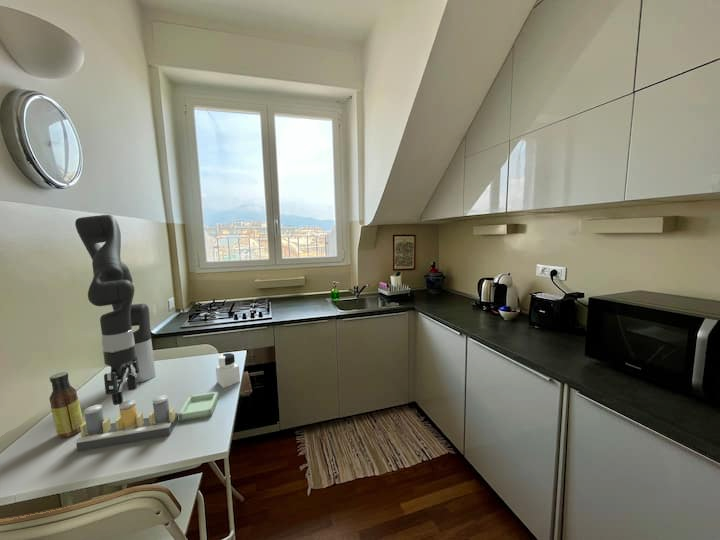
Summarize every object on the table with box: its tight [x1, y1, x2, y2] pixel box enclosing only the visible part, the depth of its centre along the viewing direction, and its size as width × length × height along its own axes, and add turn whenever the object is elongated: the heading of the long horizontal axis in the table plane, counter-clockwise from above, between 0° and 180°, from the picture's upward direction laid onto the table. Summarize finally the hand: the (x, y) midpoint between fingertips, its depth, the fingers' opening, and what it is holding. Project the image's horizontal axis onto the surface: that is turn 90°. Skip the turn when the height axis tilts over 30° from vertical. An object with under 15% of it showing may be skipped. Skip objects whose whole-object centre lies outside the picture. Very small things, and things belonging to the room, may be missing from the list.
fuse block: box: [75, 407, 179, 452], centre depth 93 cm, size 8×24×6 cm, turn 104°
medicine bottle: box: [215, 352, 241, 389], centre depth 124 cm, size 7×7×12 cm
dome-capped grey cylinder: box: [83, 404, 105, 436], centre depth 90 cm, size 4×4×8 cm
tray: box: [178, 391, 220, 422], centre depth 106 cm, size 12×10×2 cm
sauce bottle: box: [49, 371, 84, 438], centre depth 94 cm, size 6×6×20 cm
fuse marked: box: [118, 399, 138, 430], centre depth 92 cm, size 4×4×8 cm
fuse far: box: [152, 394, 170, 425], centre depth 95 cm, size 4×4×8 cm
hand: (125, 396), depth 92 cm, fingers open, 8 cm apart
